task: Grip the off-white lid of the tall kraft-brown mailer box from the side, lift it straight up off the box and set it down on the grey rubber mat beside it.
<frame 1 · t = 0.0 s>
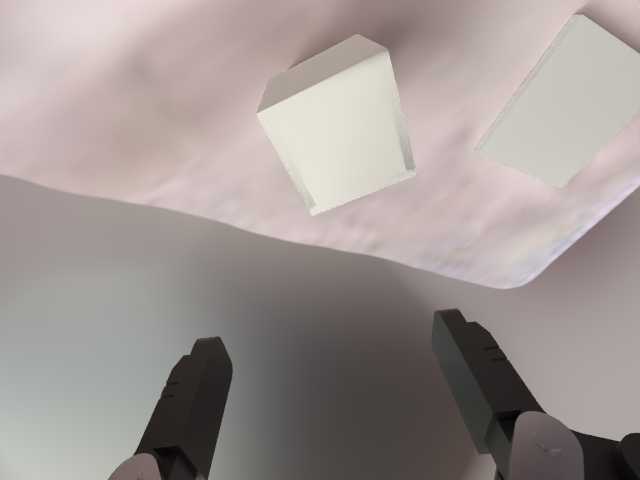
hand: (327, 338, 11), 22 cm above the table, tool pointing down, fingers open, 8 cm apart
mailer lid: (329, 104, 20), point 6 cm above the table, touching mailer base
grey mat: (562, 114, 28), on the table
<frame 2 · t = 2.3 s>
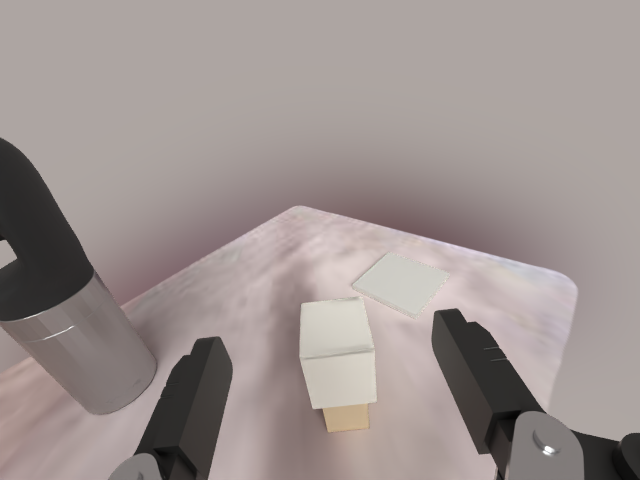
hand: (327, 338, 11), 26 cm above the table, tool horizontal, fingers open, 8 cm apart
mailer lid: (341, 376, 30), point 6 cm above the table, touching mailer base
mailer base: (346, 409, 34), on the table
grey mat: (400, 283, 51), on the table
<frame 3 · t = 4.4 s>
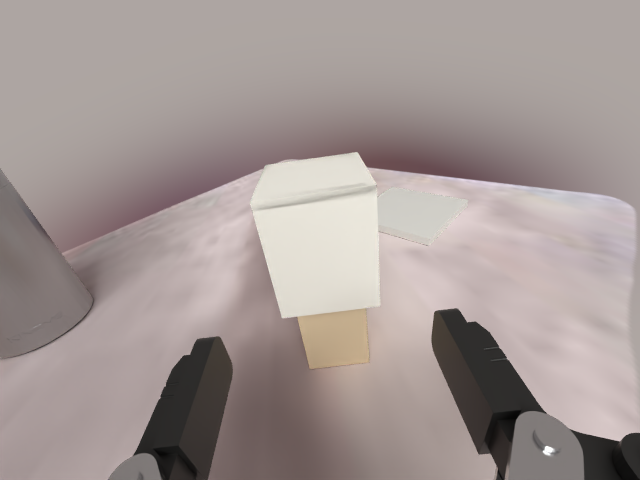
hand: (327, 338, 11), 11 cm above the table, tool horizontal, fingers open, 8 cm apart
mailer lid: (327, 281, 21), point 6 cm above the table, touching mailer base
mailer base: (336, 341, 24), on the table
grey mat: (407, 214, 41), on the table
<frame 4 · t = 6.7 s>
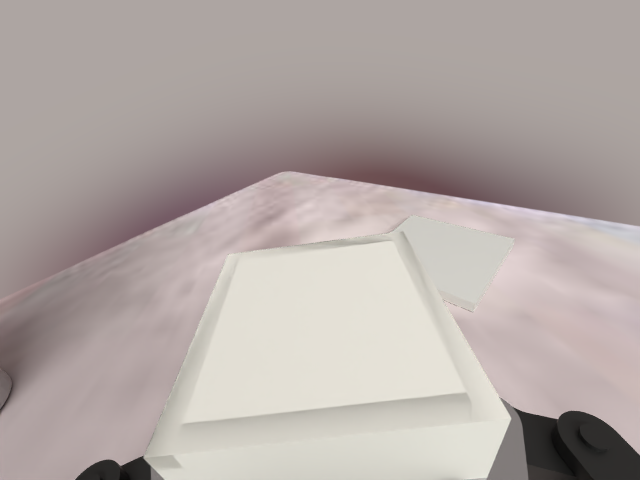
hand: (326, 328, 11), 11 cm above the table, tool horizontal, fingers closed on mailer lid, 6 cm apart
mailer lid: (344, 450, 12), point 7 cm above the table, touching gripper, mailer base
grey mat: (435, 256, 32), on the table
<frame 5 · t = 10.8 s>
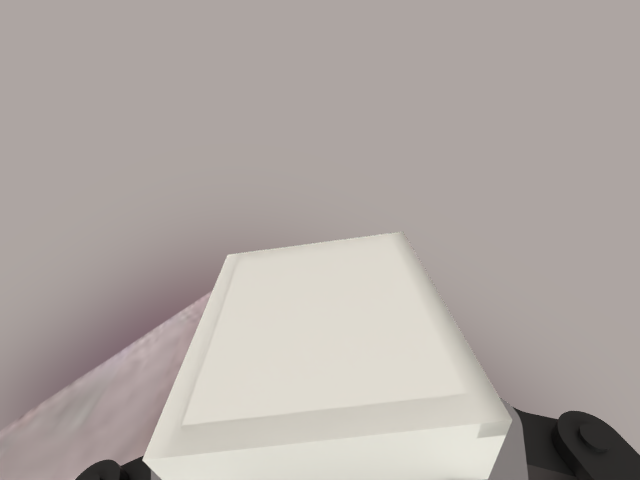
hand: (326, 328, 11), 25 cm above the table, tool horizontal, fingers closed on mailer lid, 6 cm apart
mailer lid: (344, 451, 12), point 20 cm above the table, touching gripper
when the fingers open (7 cm above the table, at t = 14.7 s): mailer lid drops 1 cm, resting on grey mat.
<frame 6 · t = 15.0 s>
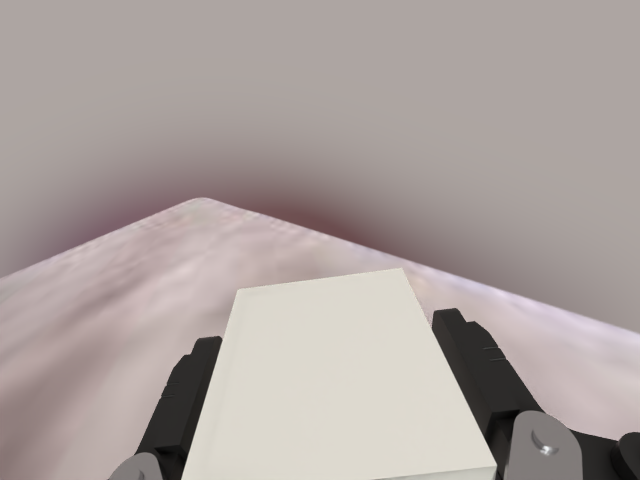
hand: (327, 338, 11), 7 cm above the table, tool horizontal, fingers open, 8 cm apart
mailer lid: (346, 470, 12), point 1 cm above the table, touching grey mat
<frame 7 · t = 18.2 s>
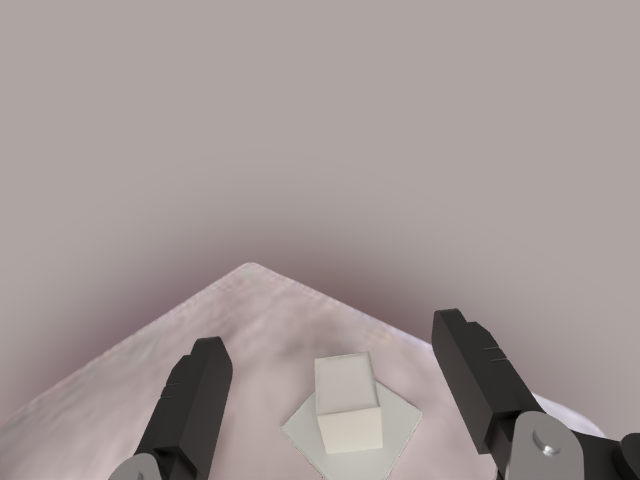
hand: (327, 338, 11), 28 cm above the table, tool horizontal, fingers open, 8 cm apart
mailer lid: (350, 421, 34), point 1 cm above the table, touching grey mat
grey mat: (351, 424, 35), on the table
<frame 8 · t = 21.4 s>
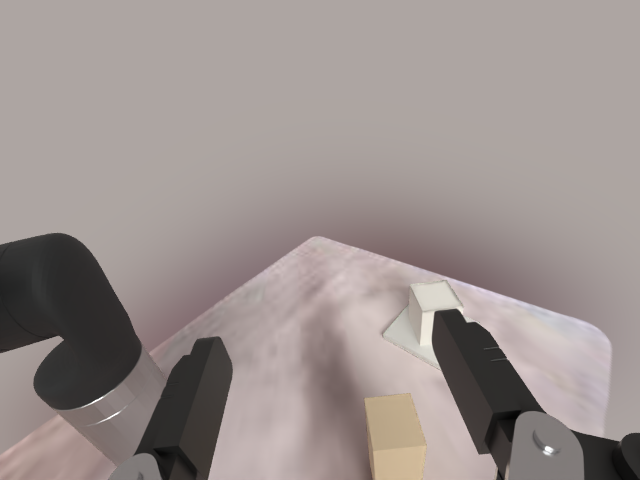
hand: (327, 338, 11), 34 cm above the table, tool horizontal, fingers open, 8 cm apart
mailer lid: (431, 328, 51), point 1 cm above the table, touching grey mat
grey mat: (430, 332, 51), on the table
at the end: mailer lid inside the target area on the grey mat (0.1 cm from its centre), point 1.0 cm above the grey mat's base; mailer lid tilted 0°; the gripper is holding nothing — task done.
